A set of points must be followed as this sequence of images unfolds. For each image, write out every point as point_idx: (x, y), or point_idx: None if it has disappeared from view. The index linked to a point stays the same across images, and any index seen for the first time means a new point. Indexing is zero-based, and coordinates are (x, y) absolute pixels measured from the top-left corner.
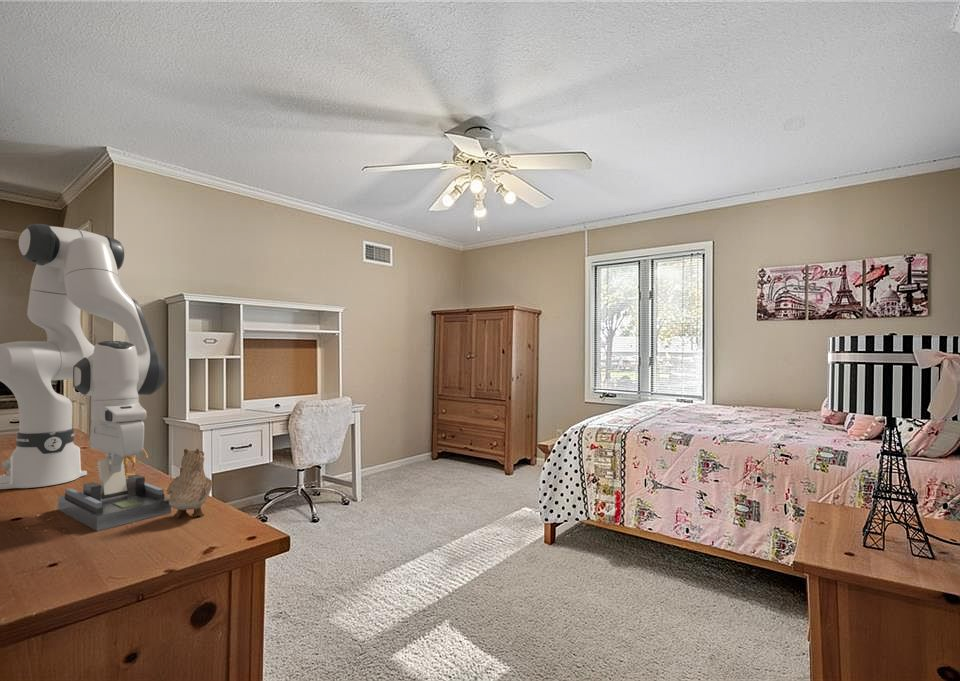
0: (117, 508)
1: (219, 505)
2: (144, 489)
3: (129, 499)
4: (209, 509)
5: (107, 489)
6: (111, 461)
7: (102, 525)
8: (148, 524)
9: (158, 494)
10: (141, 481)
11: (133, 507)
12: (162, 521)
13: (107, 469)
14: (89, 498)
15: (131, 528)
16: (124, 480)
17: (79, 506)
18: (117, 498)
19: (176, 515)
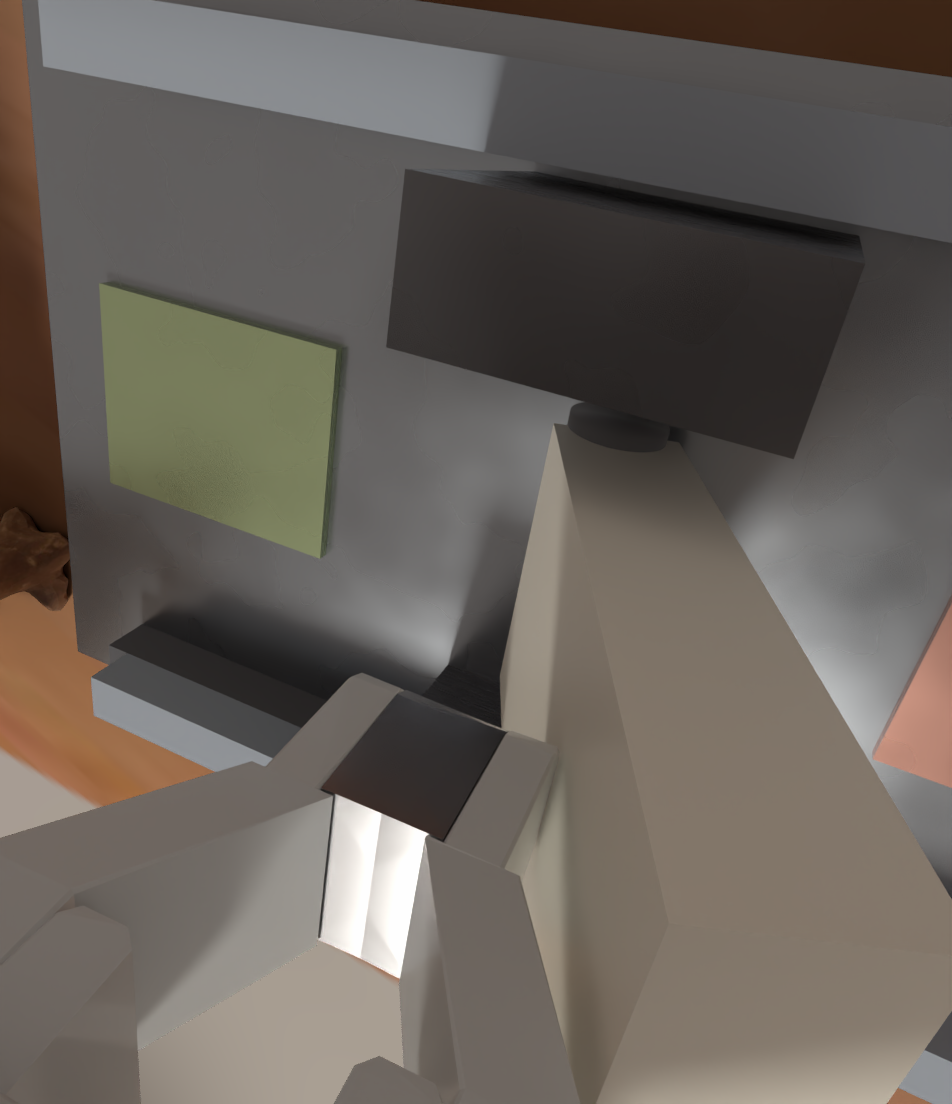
0: (141, 254)
1: (80, 787)
2: None
3: (372, 545)
4: (49, 709)
5: (552, 498)
6: (216, 836)
7: None
8: (26, 330)
9: (127, 653)
10: None
11: (68, 353)
12: (23, 421)
13: (574, 766)
14: (365, 77)
15: (22, 202)
16: None
17: (640, 49)
18: None
19: (30, 529)
